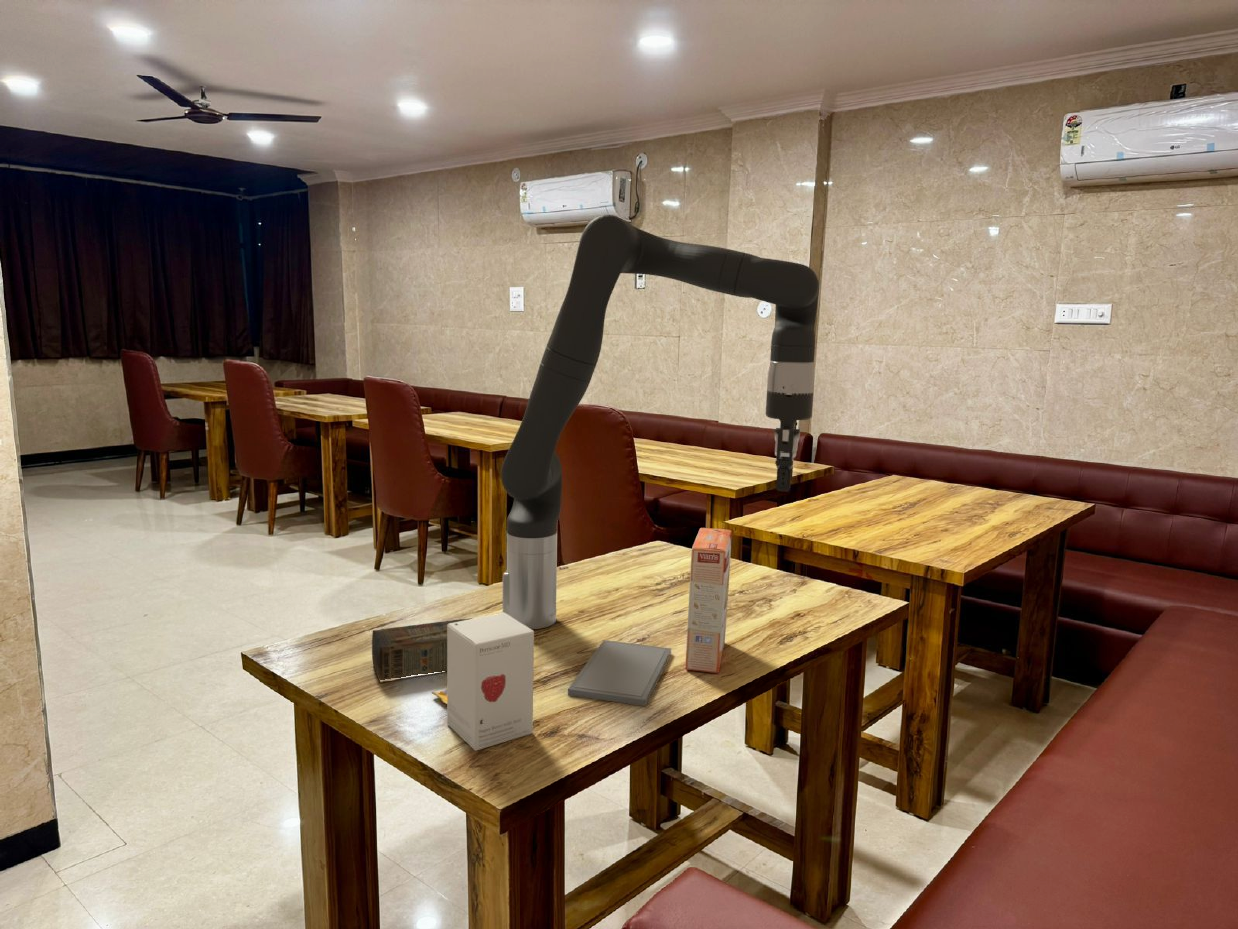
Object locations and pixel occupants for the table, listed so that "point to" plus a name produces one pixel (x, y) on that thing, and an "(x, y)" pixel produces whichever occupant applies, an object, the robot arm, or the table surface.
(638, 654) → the slate board
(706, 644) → the cracker box
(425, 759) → the table surface
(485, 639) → the supplement box
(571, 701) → the table surface
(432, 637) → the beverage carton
